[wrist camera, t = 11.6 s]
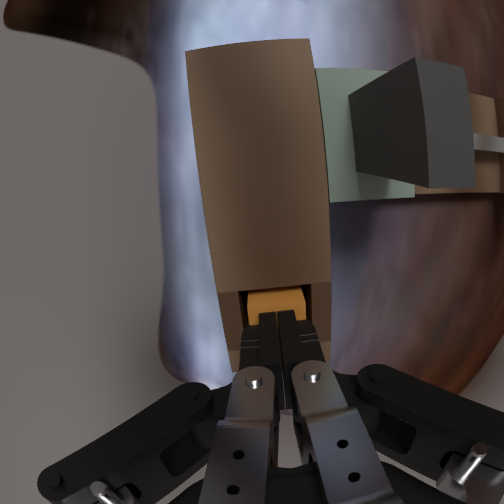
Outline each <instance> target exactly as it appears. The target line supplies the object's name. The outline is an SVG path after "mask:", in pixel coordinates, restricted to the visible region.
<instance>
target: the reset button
mask: <svg viewBox="0 0 504 504" xmlns="http://www.w3.org/2000/svg"><path fill="white" fill-rule="evenodd" d="M292 309H294V312H295V316H296V320H305V319H306V303H305V299H304V296H303V293H302V290H301V286H300V285H295V286H285V287H276V288H266V289H255V290H248V304H247V310H248V317H249V324H250V325H258V324H259V313H264V312H274V311H276V319H277V328H278V317H277V311H283V310H292ZM278 337H279V329H278ZM279 346H280V341H279Z"/></svg>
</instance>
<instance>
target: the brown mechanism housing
mask: <svg viewBox="0 0 504 504" xmlns="http://www.w3.org/2000/svg"><path fill="white" fill-rule="evenodd" d="M185 56H186V67H187V78H188V88H189V98H190V107H191V116H192V125H193V133H194V142H195V150H196V158H197V165H198V173H199V180H200V188H201V195H202V202H203V209H204V215H205V222H206V229H207V235H208V241H209V248H210V254H211V260H212V266H213V272H214V278H215V284H216V289H217V295H218V301H219V306H220V312H221V317H222V322H223V328H224V333H225V338H226V343H227V348H228V353H229V358H230V363H231V368H232V372H239V363H240V350H241V337H242V332H243V330H244V329H245V328H246V327H247V325H250V324H249V317H248V310H247V304H248V290H255V289H266V288H276V287H285V286H295V285H300V286H301V290H302V293H303V296H304V299H305V303H306V319H308V320H309V321H310V322H311V323H312V324H313V325H314V326H315V329H316V332H317V335H318V339H319V342H320V345H321V348H322V352H323V355H324V358H325V361H326V363H329V362H330V347H331V242H330V218H329V200H328V185H327V172H326V160H325V149H324V139H323V130H322V121H321V113H320V105H319V97H318V90H317V83H316V76H315V70H314V63H313V57H312V51H311V46H310V40H309V39H278V40H263V41H251V42H242V43H233V44H226V45H219V46H213V47H206V48H201V49H195V50H190V51H185ZM468 94H469V101H470V108H471V116H472V125H473V137H474V152H475V188H425V187H421V186H417V185H415V194H433V193H481V192H500V193H504V98H497V99H493V98H489V97H485V96H481V95H477V94H473V93H468ZM280 355H281V352H280ZM281 364H282V362H281Z"/></svg>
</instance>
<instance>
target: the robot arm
mask: <svg viewBox="0 0 504 504" xmlns="http://www.w3.org/2000/svg"><path fill="white" fill-rule="evenodd" d="M277 317H278V328H277V319H276V311H274V312H264V313H259V324H258V325H247V327H246V328H245V329H244V330H243V332H242V337H241V350H240V363H239V372H237V373H236V374H235V376H234V378H233V382H232V383H230V384H229V385H227V386H224V387H221V388H218V389H214V390H210V389H209V388H208V387H207V386H206V385H204V384H202V383H198V382H189V383H185V384H182V385H180V386H179V387H177V388H175V389H174V390H172V391H171V392H169V393H168V394H166V395H165V396H164V397H162V398H161V399H159V400H158V401H156V402H155V403H153V404H152V405H150V406H149V407H147V408H146V409H144V410H142V411H141V412H139V413H138V414H136V415H135V416H133V417H132V418H130V419H129V420H127V421H125V422H124V423H122V424H121V425H119V426H117V427H116V428H114V429H113V430H111V431H109V432H108V433H106V434H105V435H103V436H101V437H100V438H98V439H96V440H95V441H93V442H91V443H90V444H88V445H86V446H84V447H83V448H81V449H79V450H78V451H76V452H74V453H72V454H71V455H69V456H67V457H65V458H63V459H62V460H60V461H58V462H56V463H55V464H53V465H51V466H49V467H47V468H46V469H44V470H43V471H42V472H41V474H40V475H39V477H38V481H37V486H38V490H39V492H40V493H41V495H42V496H43V497H44V498H46V499H47V500H48V501H49V502H50V503H52V504H155V503H156V502H158V501H159V500H161V499H162V498H163V497H165V496H166V495H167V494H169V493H170V492H172V491H173V490H174V489H175V488H177V487H178V486H179V485H181V484H182V483H183V482H185V481H186V480H187V479H188V478H190V477H191V476H192V475H193V474H195V473H196V472H197V471H198V470H200V469H201V468H202V467H203V466H204V465H205V464H207V463H208V464H207V469H206V473H205V477H204V479H201V480H200V481H198V482H196V483H194V484H192V485H191V486H189V487H188V488H187V489H186V490H184V491H183V492H182V493H181V494H180V495H178V496H177V497H176V498H175V499H173V500H172V501H171V502H170V503H168V504H499V503H500V501H501V499H502V496H503V494H504V412H501V411H498V410H495V409H492V408H490V407H487V406H485V405H482V404H479V403H477V402H474V401H471V400H469V399H466V398H464V397H461V396H459V395H456V394H454V393H451V392H449V391H446V390H444V389H441V388H439V387H436V386H434V385H431V384H429V383H426V382H424V381H422V380H419V379H417V378H415V377H412V376H410V375H407V374H405V373H403V372H400V371H398V370H396V369H394V368H391V367H389V366H386V365H383V364H372V365H368V366H365V367H364V368H362V369H361V370H360V371H359V372H358V375H345V374H340V373H337V372H335V371H333V370H332V368H331V367H330V366H329V365H328V364H327V363H326V361H325V358H324V355H323V352H322V348H321V345H320V342H319V339H318V335H317V332H316V329H315V326H314V325H313V324H312V323H311V322H310V321H309V320H308V319H305V320H296V316H295V312H294V309H292V310H283V311H277ZM278 329H279V337H278ZM279 341H280V346H279ZM280 352H281V355H280ZM281 362H282V364H281ZM282 371H283V378H282ZM283 380H284V390H285V399H286V409H292V411H293V425H294V430H295V434H296V439H297V443H298V448H299V452H300V456H301V461H302V466H298V467H295V468H281V467H278V444H279V422H280V410H284V409H285V406H284V391H283ZM409 423H410V424H409ZM376 451H378V452H380V453H382V454H384V455H385V456H387V457H389V458H391V459H393V460H395V461H397V462H399V463H400V464H403V465H404V466H406V467H408V468H410V469H412V470H414V471H416V472H418V473H420V474H422V475H424V476H426V477H428V478H431V479H433V480H435V481H436V487H437V489H436V488H434V487H432V486H430V485H428V484H426V483H424V482H422V481H421V480H418V479H417V478H415V477H413V476H412V475H410V474H408V473H406V472H404V471H403V470H401V469H399V468H397V467H395V466H394V465H391V464H389V463H386V462H382V461H380V459H379V457H378V455H377V452H376Z"/></svg>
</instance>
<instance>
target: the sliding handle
mask: <svg viewBox="0 0 504 504" xmlns="http://www.w3.org/2000/svg"><path fill="white" fill-rule="evenodd" d="M315 76H316V83H317V90H318V97H319V105H320V113H321V121H322V130H323V139H324V149H325V160H326V172H327V185H328V200H329V202H330V203H332V202H345V201H359V200H374V199H391V198H410V197H415V185H417V186H421V187H425V188H475V152H474V137H473V125H472V116H471V108H470V101H469V94H468V88H467V83H466V77H465V72H464V68H463V67H459V66H455V65H451V64H447V63H442V62H437V61H433V60H428V59H422V58H417V57H414V58H412V59H411V60H409V61H407V62H405V63H403V64H401V65H399V66H398V67H396V68H394V69H392V70H390V71H380V70H367V69H348V68H315Z"/></svg>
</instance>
